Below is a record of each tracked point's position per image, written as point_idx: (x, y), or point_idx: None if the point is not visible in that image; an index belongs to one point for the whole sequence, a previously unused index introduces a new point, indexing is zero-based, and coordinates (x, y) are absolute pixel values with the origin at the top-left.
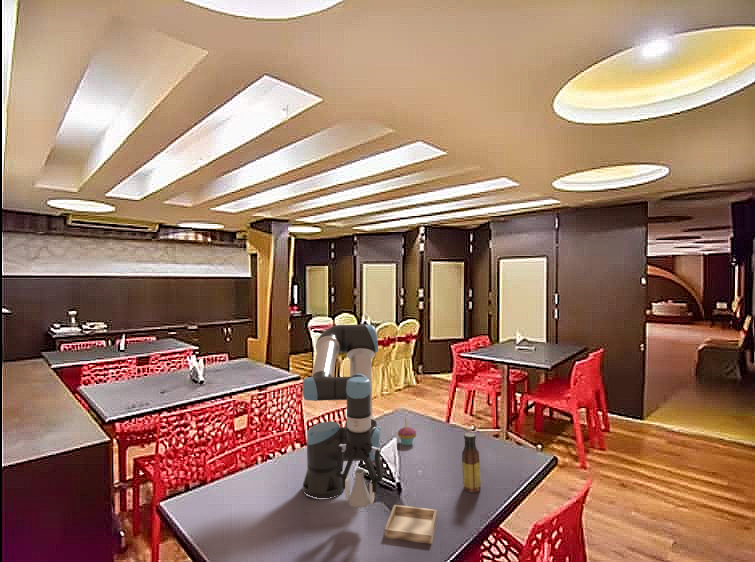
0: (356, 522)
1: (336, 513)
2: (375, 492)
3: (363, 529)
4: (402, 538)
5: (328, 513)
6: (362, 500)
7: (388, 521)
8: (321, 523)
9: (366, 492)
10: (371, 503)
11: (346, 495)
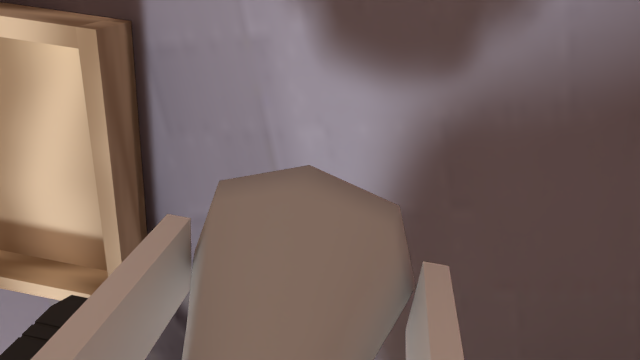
0: (357, 181)
1: (511, 272)
2: (71, 295)
3: (295, 105)
4: (1, 4)
5: (570, 272)
6: (241, 221)
7: (101, 133)
8: (626, 159)
9: (192, 313)
10: (171, 217)
11: (440, 301)
